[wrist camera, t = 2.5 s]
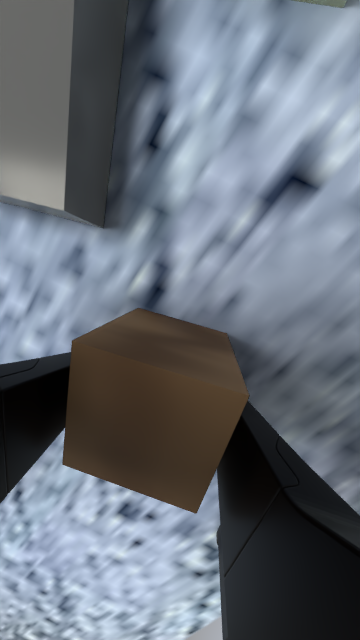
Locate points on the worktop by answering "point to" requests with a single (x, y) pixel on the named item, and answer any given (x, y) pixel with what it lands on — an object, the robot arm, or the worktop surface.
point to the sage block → (326, 2)
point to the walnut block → (152, 405)
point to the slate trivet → (59, 104)
